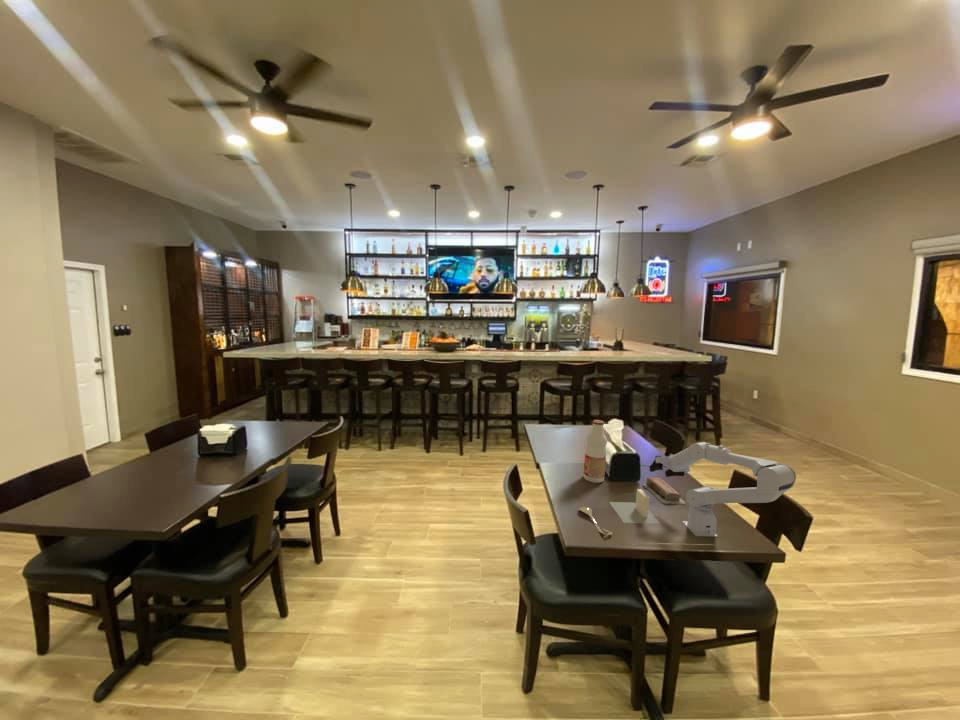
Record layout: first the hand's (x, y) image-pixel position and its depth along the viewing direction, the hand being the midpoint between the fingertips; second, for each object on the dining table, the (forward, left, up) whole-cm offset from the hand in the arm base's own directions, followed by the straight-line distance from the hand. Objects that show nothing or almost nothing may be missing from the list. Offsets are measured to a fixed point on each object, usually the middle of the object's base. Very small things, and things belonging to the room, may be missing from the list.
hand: (658, 471), depth 161 cm
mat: (-8, +12, -14) cm, 20 cm away
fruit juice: (+23, +18, -14) cm, 33 cm away
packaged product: (+9, -8, -15) cm, 19 cm away
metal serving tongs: (-16, +30, -15) cm, 37 cm away
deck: (-8, +9, -14) cm, 18 cm away
